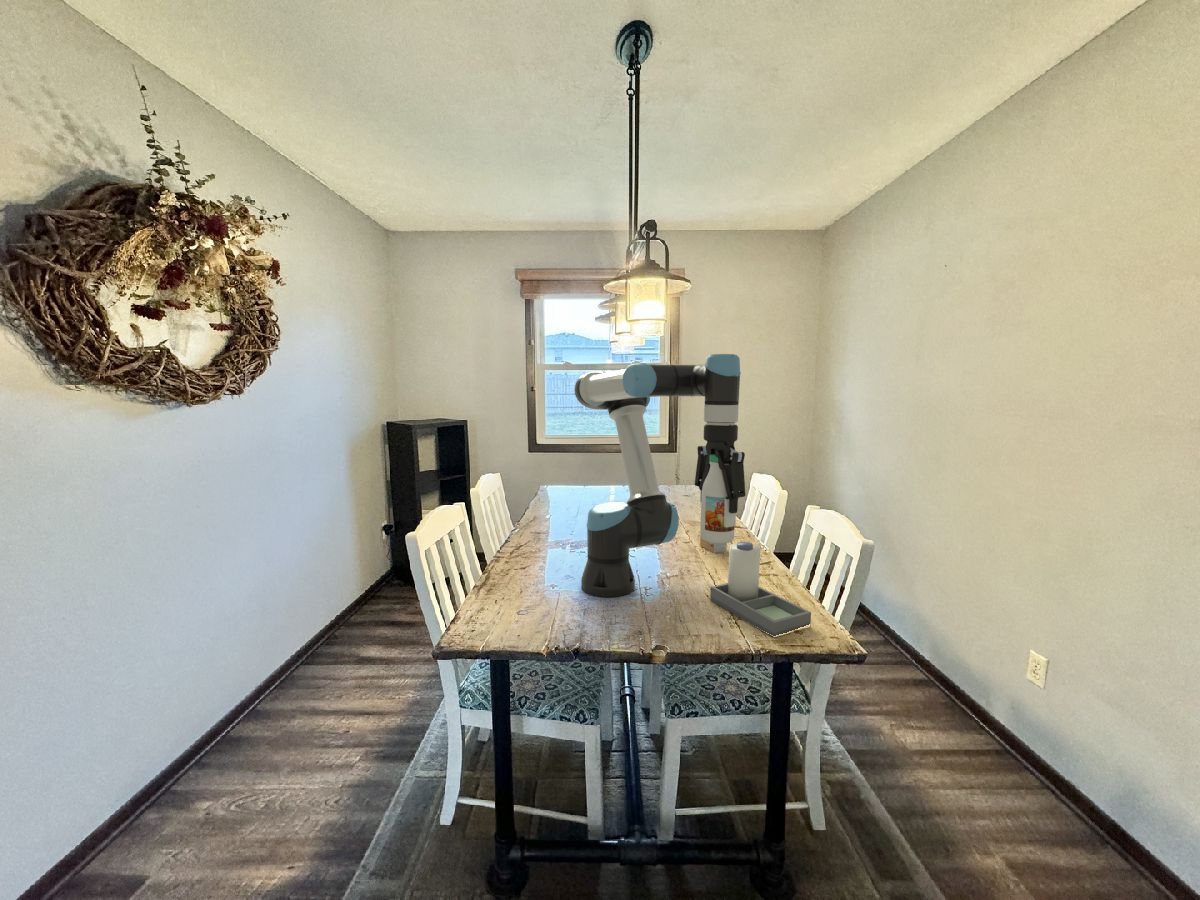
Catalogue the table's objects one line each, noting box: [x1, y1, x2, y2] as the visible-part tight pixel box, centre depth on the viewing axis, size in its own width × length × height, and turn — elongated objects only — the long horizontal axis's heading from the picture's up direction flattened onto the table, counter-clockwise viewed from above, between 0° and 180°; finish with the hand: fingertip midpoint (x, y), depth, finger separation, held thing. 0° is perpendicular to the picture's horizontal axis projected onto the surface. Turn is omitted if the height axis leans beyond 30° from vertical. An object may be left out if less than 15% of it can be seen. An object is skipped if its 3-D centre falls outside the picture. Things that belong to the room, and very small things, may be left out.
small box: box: [699, 536, 728, 554], centre depth 174 cm, size 8×6×10 cm
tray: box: [709, 582, 812, 636], centre depth 126 cm, size 12×22×4 cm, turn 27°
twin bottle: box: [727, 541, 761, 602], centre depth 130 cm, size 8×8×15 cm
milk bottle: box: [699, 454, 736, 544], centre depth 116 cm, size 8×8×20 cm
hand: (717, 521), depth 117 cm, fingers closed on milk bottle, 8 cm apart
